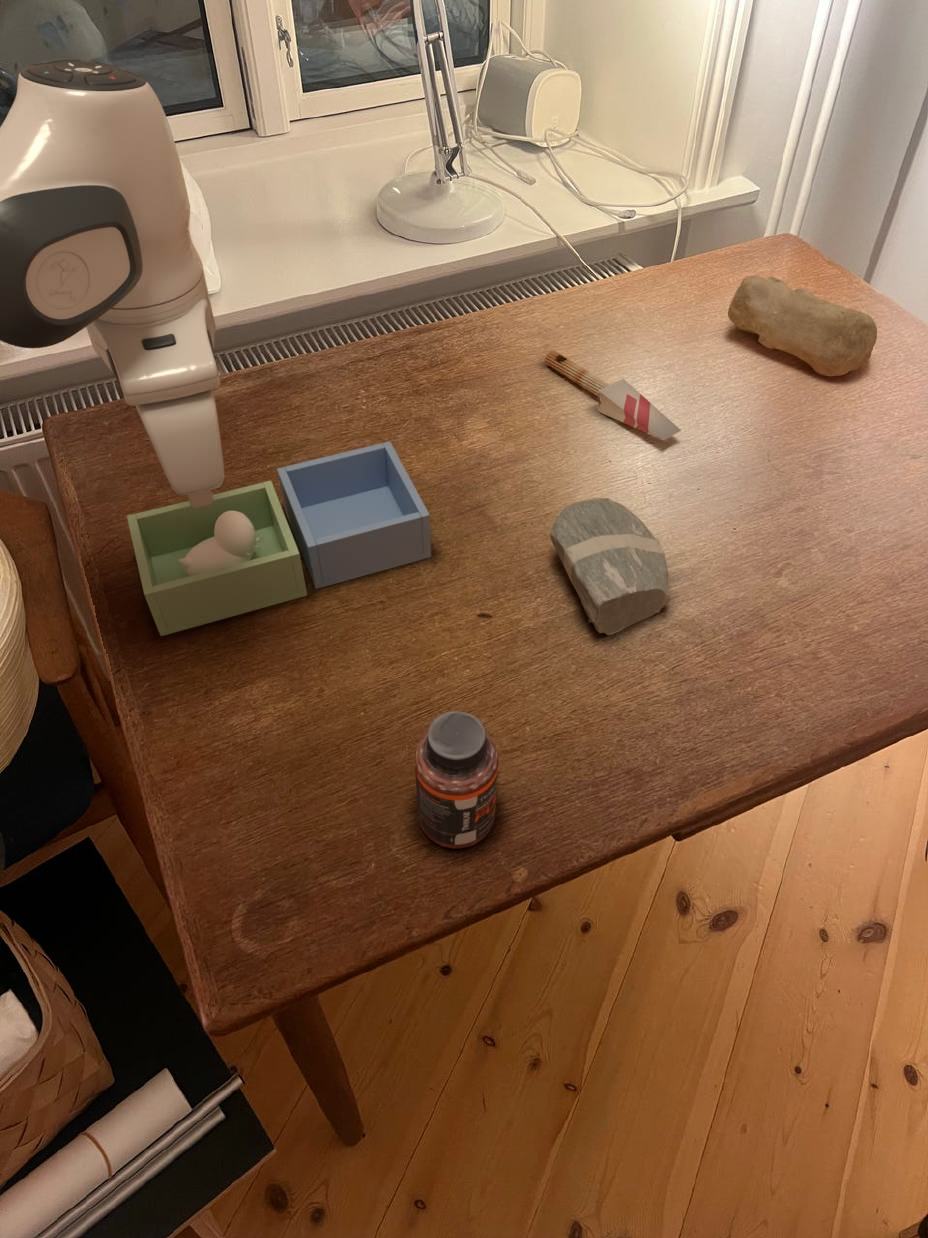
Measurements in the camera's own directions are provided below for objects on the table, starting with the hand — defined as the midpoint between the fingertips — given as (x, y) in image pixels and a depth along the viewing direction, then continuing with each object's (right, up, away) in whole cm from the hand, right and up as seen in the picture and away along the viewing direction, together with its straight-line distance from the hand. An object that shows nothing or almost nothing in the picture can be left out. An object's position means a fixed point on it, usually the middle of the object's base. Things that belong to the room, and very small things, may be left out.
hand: (189, 465), depth 76 cm
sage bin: (0, -9, +11) cm, 14 cm away
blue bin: (+12, -4, +15) cm, 20 cm away
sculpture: (+63, +20, +36) cm, 75 cm away
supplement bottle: (+22, -28, -5) cm, 36 cm away
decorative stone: (+36, -9, +11) cm, 39 cm away
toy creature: (0, -8, +11) cm, 14 cm away
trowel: (+39, +12, +29) cm, 50 cm away
